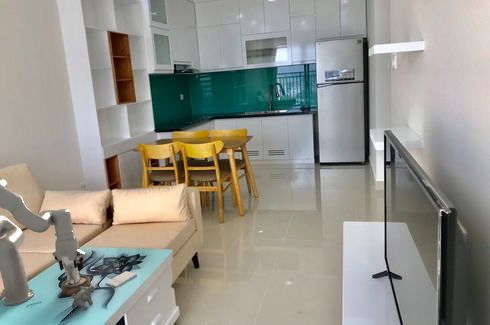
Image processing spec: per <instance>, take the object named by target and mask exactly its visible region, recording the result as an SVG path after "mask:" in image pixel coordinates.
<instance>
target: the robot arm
mask: <svg viewBox="0 0 490 325" xmlns="http://www.w3.org/2000/svg"><path fill="white" fill-rule="evenodd" d="M0 208H1V209H3V210H4V211H6V212H7V213H9V214H10V215H11V217H12V218H13V219H14V220H15V221H16V222H17V223H18V224H20V225H21V226H22V227H24V228H26V229H28V230H30V231H32V232H35V233H37V234H39V233H40V234H41V233H42V234H43V233H45V232H47V231H48V230H49V229H50V228H51V227H52V226H54V232H55V233H54V236H55V237H56V239H55V247H54V248H55V251H53V252H52V254H51V255H52V256H53V257H54V260H56V263H58V267H59V270H60V271H63V270H64V268H63V265H62V256H67V257H68V259H69V260H76V261H77V268H78V271H79V272H80V271H81V270H84V264H83V261H84V259H85V258H86V255H87V253H86V252H84V251H82V250H81V249H80V245H79V242H78V240H77V237H76V236H75V232H74V226H73V221H72V215H71V211H70V210H69V209H68V208H61V209H60V208H59V209H57V210H54V209H53V210H52V209H45V210H42V211H41V212H39V213H38V214H36V213H34V212H33V211H31V210H30V209H29V208H28V207H27V206H26V204H25V202H24V199H23V196H22V195H21V194H19V193H17V192H15V191H13V190H11V189H10V188H9V183H8V182H7V181H6V180H5V179H4V178H3V177H0ZM25 239H26V238H25V233H24V232H23V231H22V229H20V227H19V226H17V225H16V224H15V223H13V222H12V221H11V220H10V219H8V218H7V217H6V216H5V215H3V214H0V275H1V279H2V284H3V287H4V288H3V289H2V291H1V293H0V295H1V296H4V299H3V304H4V305H5V306H17V305H19V304H22V303H25V302H27V301H29V300H30V299H32V298H33V297H34V296H35V292H34V290H33V289H30V287H29V281H28V278H27V274H26V269H25V264H24V260H23V258H22V255H21V253H20V251H19V248H20V247H21V246H22V245H23V244H24V242H25Z"/></svg>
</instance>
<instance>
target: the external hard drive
mask: <svg viewBox="0 0 490 325" xmlns="http://www.w3.org/2000/svg"><path fill="white" fill-rule="evenodd" d="M137 276H138V275H137V273H134V272H131V271H127V270H126V271H124V272H122V273H120V274H118V275H116V276H115V277H113V278H112V279H109V281H108V280H107V281H106V282H105V285H107V286H110V287H112V288H116V289H118V288H119V287H121V286H122V285H124V284H126V283H127V282H129V281H131V280H132V279H134V278H136V277H137Z"/></svg>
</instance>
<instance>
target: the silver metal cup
mask: <svg viewBox="0 0 490 325" xmlns="http://www.w3.org/2000/svg"><path fill="white" fill-rule="evenodd" d="M62 265H63V268H64V269H63V270H64V272H65V275H66V277H67V278H66V279H67V280H68V285H76V284H78V283H80V282H81V278H80V276H79V275H80V273H79V272H80V271H78V268H77V261H76V260H69V259H68V257H67V256H62Z"/></svg>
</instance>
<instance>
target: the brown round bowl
mask: <svg viewBox="0 0 490 325" xmlns="http://www.w3.org/2000/svg"><path fill="white" fill-rule="evenodd" d="M79 276H80V278H81V282H80V283H78V284H76V285H68V280H67V278H66V279H65V280H64V281H62V283H61V285H60V290H61V294H62V295H64V296H71V297H72V295H73V294H77V293H78V292H79V291H81V290H80V286H82V287H90V286H92V284H91V278H90V276H87V275H86V274H79Z"/></svg>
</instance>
